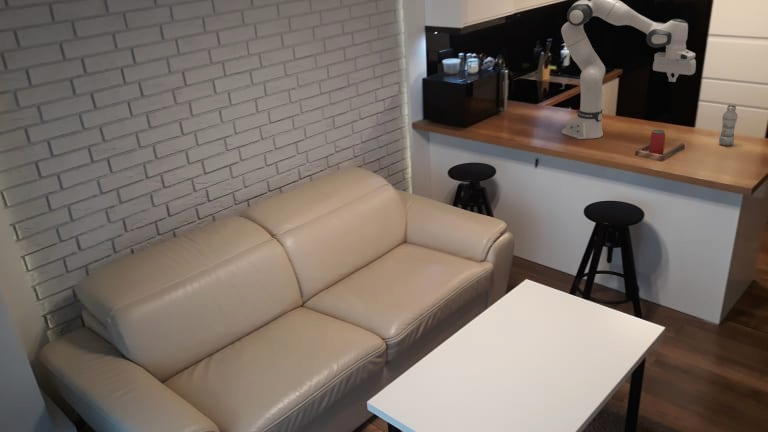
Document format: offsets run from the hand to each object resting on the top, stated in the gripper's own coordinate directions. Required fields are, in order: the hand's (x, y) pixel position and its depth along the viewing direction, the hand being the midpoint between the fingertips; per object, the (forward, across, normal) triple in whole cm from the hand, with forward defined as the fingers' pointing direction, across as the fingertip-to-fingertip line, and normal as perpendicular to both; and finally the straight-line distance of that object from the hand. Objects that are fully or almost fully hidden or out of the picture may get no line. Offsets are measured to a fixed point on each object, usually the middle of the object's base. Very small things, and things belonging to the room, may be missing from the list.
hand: (672, 81), depth 305 cm
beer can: (+31, +6, -21) cm, 38 cm away
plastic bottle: (+31, +26, +10) cm, 42 cm away
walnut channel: (+31, +6, -17) cm, 36 cm away
